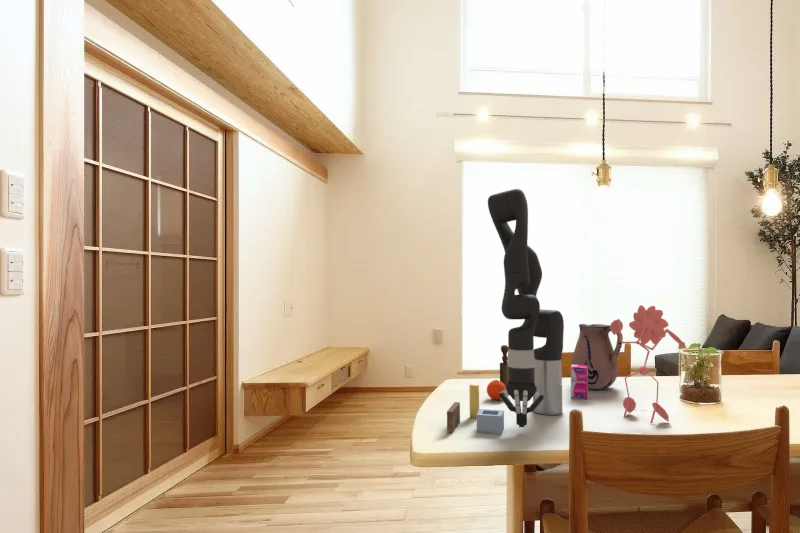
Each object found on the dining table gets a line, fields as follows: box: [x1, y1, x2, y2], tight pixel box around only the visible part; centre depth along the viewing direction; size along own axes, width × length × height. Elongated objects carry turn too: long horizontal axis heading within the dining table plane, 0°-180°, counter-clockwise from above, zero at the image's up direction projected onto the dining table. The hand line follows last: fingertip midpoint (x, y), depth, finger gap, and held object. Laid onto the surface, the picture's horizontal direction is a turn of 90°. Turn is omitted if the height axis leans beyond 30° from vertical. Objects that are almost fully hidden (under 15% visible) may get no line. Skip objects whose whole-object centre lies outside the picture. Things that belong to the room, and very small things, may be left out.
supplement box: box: [570, 365, 589, 400], centre depth 193 cm, size 6×6×12 cm
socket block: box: [476, 408, 505, 435], centre depth 152 cm, size 7×7×5 cm
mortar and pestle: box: [499, 344, 510, 395], centre depth 203 cm, size 7×6×18 cm
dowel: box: [469, 383, 480, 420], centre depth 166 cm, size 3×3×10 cm
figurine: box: [609, 304, 687, 429], centre depth 165 cm, size 15×26×35 cm, turn 31°
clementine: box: [486, 379, 506, 401], centre depth 191 cm, size 8×7×7 cm
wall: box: [446, 401, 461, 434], centre depth 155 cm, size 2×12×6 cm, turn 164°
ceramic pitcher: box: [570, 323, 624, 390], centre depth 210 cm, size 18×21×25 cm
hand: (521, 426), depth 149 cm, fingers closed
